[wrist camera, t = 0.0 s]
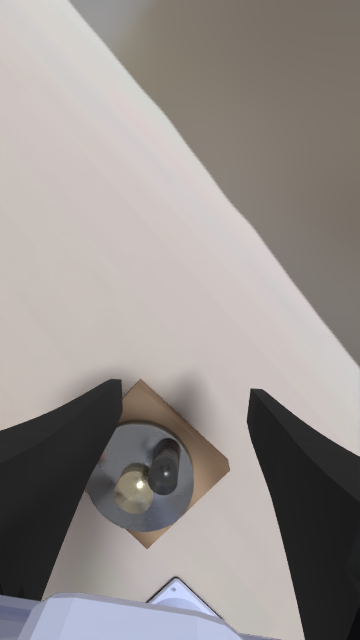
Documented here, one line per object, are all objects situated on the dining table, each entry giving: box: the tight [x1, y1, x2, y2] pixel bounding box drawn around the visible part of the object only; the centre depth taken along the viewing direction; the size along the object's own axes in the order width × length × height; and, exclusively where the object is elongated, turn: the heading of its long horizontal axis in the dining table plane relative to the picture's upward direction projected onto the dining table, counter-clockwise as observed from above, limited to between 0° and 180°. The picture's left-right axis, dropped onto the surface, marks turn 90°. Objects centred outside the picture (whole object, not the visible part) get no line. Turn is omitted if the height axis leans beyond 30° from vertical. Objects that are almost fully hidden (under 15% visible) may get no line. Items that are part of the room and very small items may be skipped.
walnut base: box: [85, 379, 230, 549], centre depth 22 cm, size 13×13×2 cm
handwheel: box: [86, 420, 194, 532], centre depth 19 cm, size 11×11×5 cm
